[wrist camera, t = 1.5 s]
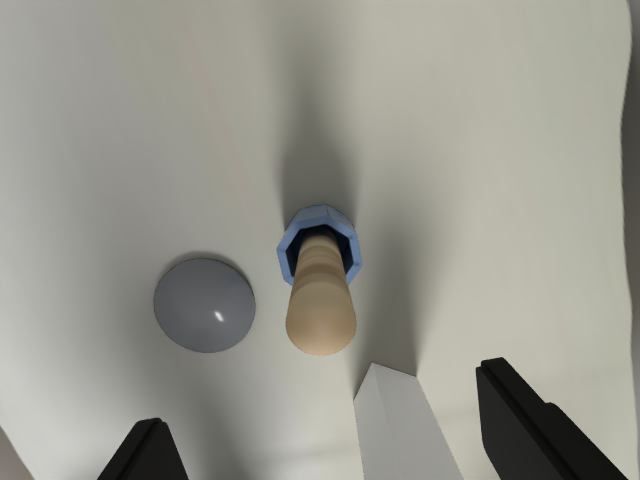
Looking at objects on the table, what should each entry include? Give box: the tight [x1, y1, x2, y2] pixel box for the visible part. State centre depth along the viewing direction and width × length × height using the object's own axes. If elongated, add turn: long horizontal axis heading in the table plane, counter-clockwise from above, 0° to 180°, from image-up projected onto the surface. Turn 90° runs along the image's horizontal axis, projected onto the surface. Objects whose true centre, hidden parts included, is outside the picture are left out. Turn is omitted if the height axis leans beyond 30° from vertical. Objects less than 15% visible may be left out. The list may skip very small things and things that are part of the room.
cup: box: [277, 204, 362, 286], centre depth 31 cm, size 7×7×7 cm
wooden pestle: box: [286, 224, 356, 356], centre depth 25 cm, size 4×4×18 cm
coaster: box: [154, 259, 255, 353], centre depth 36 cm, size 11×11×1 cm
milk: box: [353, 363, 464, 480], centre depth 29 cm, size 6×6×22 cm
